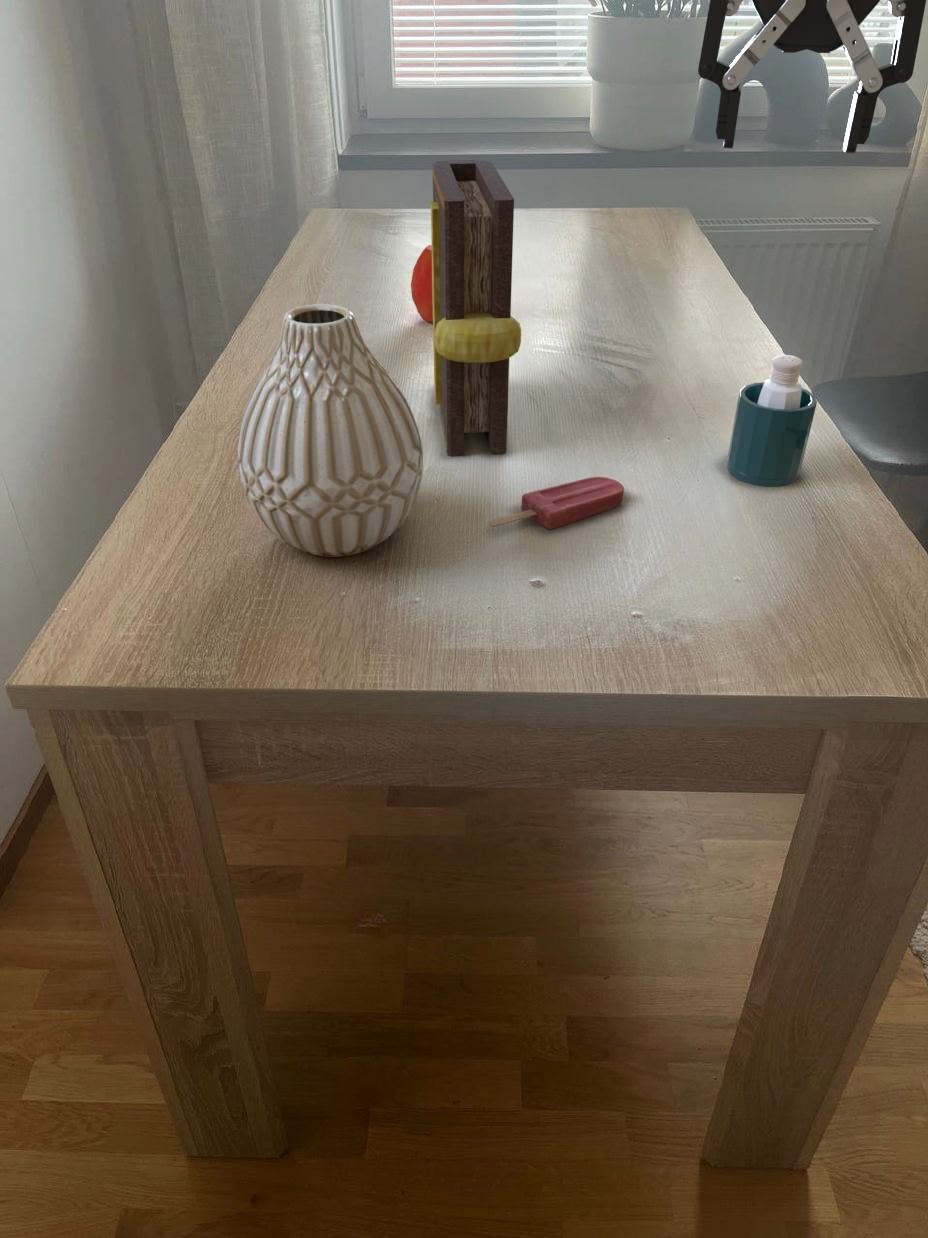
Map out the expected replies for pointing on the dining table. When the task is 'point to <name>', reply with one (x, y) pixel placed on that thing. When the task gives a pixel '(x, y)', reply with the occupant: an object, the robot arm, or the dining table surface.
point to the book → (472, 301)
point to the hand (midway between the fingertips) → (788, 148)
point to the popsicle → (567, 502)
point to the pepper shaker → (782, 384)
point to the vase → (328, 439)
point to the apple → (423, 285)
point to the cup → (769, 439)
